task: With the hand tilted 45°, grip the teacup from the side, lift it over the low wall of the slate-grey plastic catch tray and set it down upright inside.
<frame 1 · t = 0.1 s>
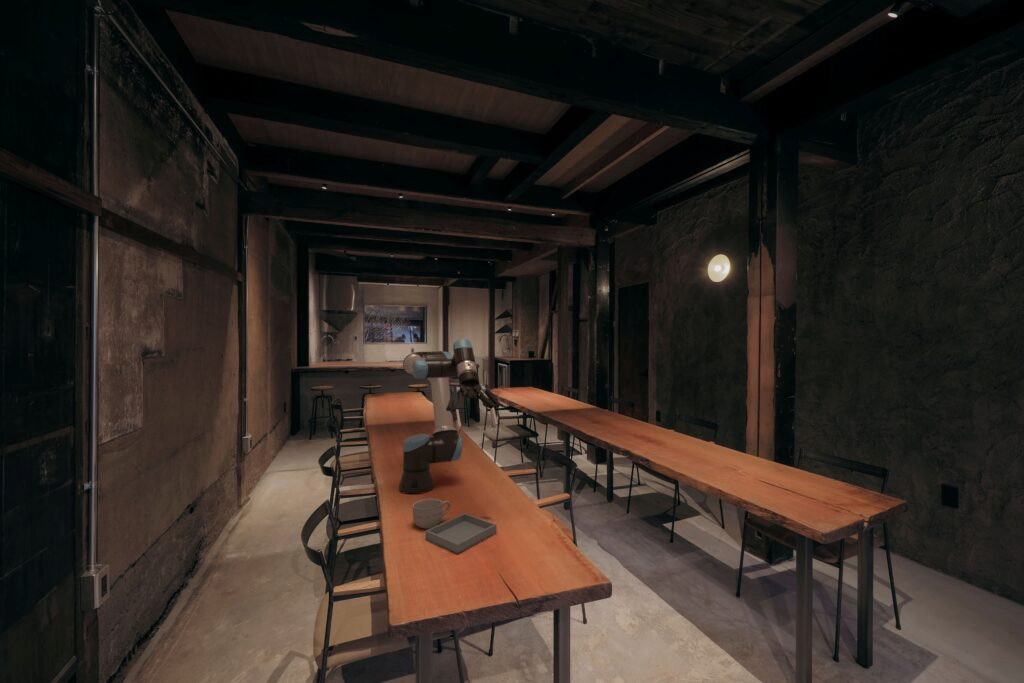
hand: (477, 426, 149), 36 cm above the table, tool tilted 35°, fingers open, 13 cm apart
teacup: (432, 525, 151), on the table
catch tray: (461, 536, 142), on the table
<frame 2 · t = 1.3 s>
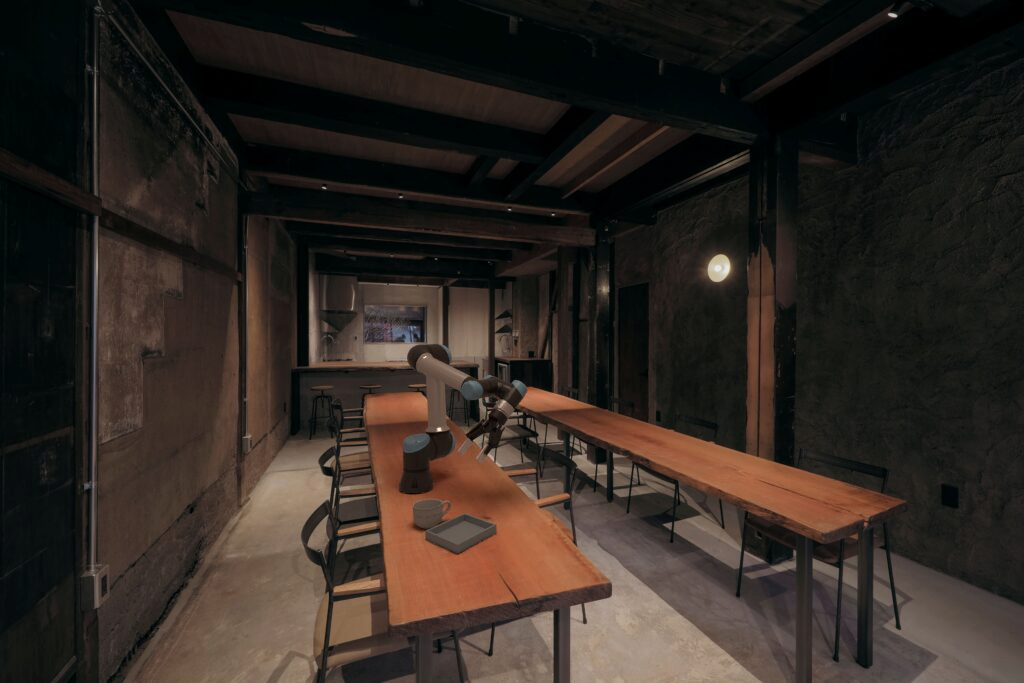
hand: (468, 457, 160), 22 cm above the table, tool tilted 45°, fingers open, 13 cm apart
nothing on the table moved.
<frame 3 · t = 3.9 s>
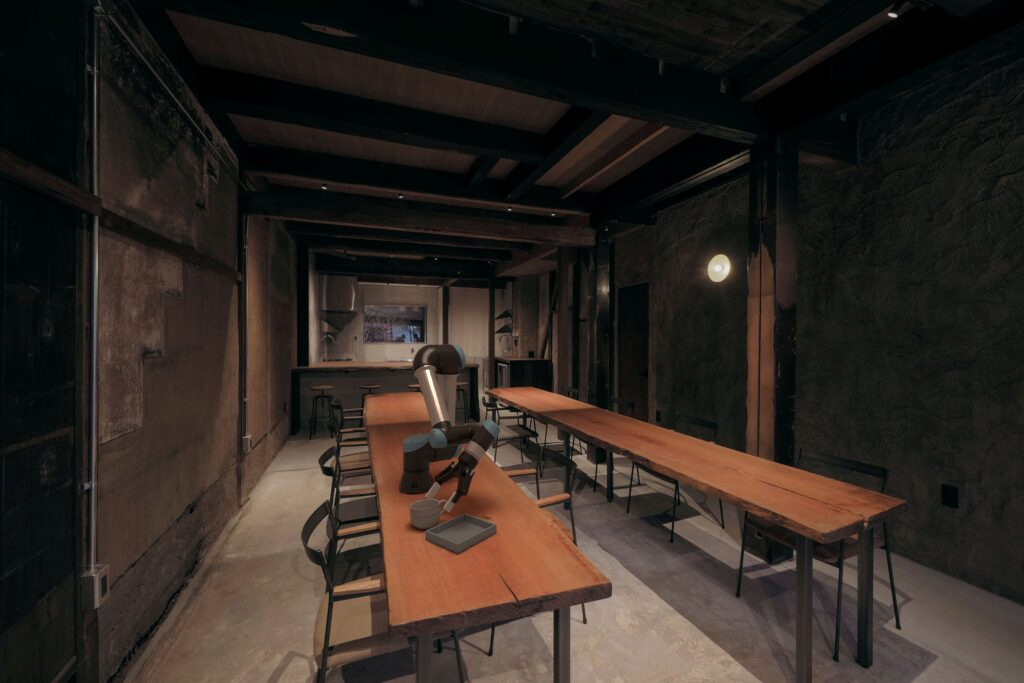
hand: (435, 505, 150), 7 cm above the table, tool tilted 45°, fingers open, 13 cm apart
teacup: (429, 525, 151), on the table, touching gripper
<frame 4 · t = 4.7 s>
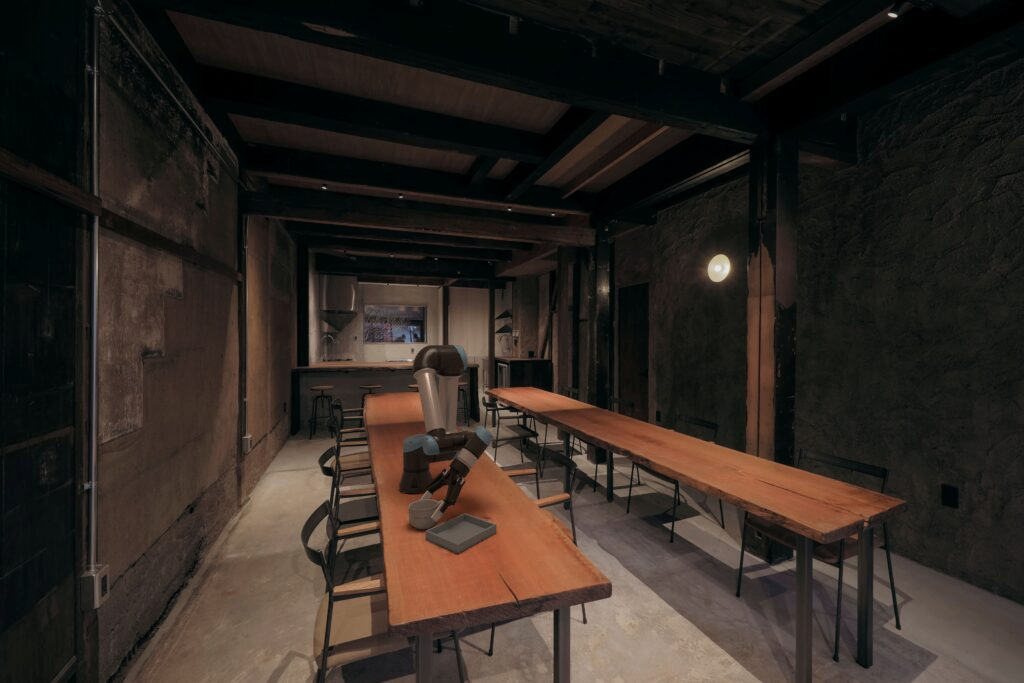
hand: (425, 513, 150), 4 cm above the table, tool tilted 45°, fingers open, 12 cm apart
nothing on the table moved.
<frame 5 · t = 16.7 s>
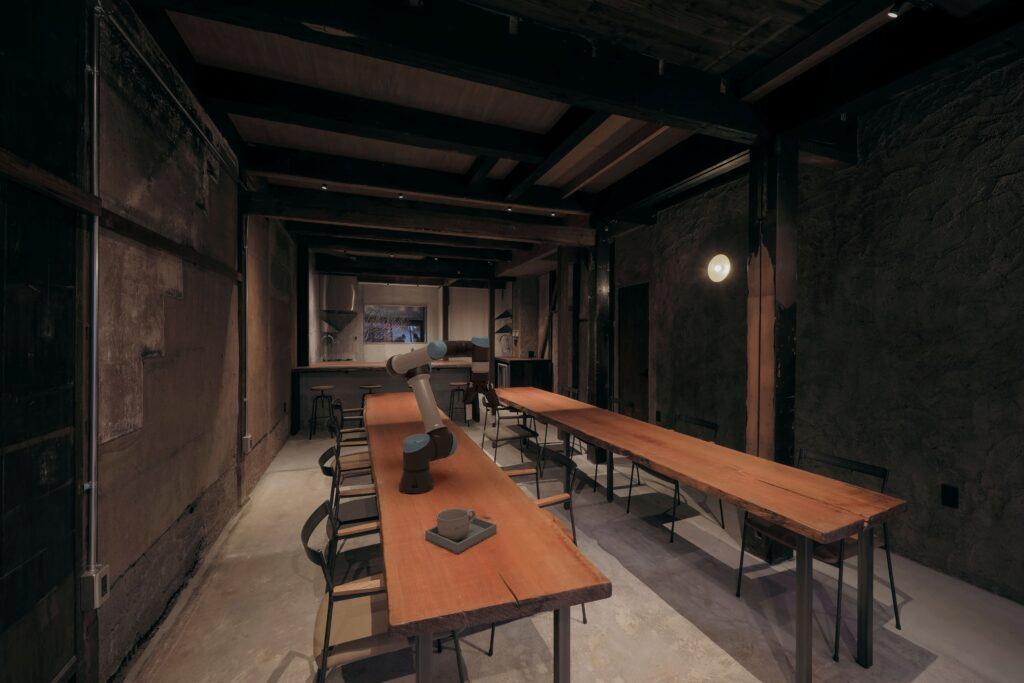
hand: (480, 421, 180), 32 cm above the table, tool pointing down, fingers open, 13 cm apart
teacup: (457, 536, 141), resting on catch tray
at the end: teacup inside the target area on the catch tray (1.6 cm from its centre), point 0.4 cm above the catch tray's base; teacup tilted 0°; the gripper is holding nothing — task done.
